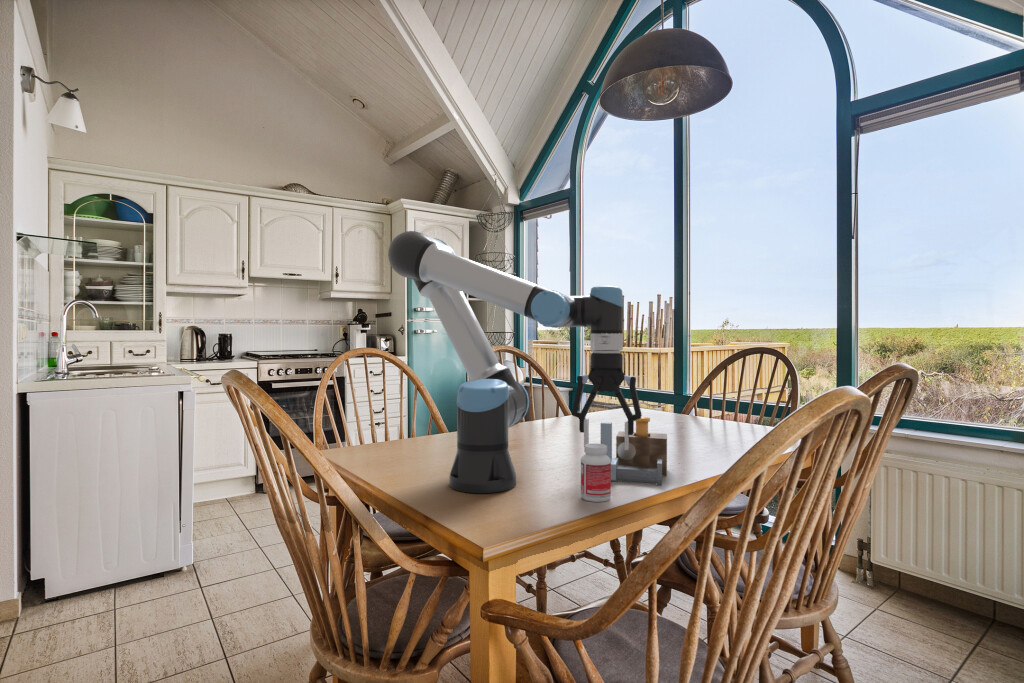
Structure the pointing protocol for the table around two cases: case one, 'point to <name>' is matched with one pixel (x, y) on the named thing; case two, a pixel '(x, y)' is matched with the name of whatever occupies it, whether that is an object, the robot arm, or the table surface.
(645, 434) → the peg
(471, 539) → the table surface
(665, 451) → the cabinet
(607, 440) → the carriage
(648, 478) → the grey u-shaped bracket
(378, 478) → the table surface
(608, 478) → the pill bottle
